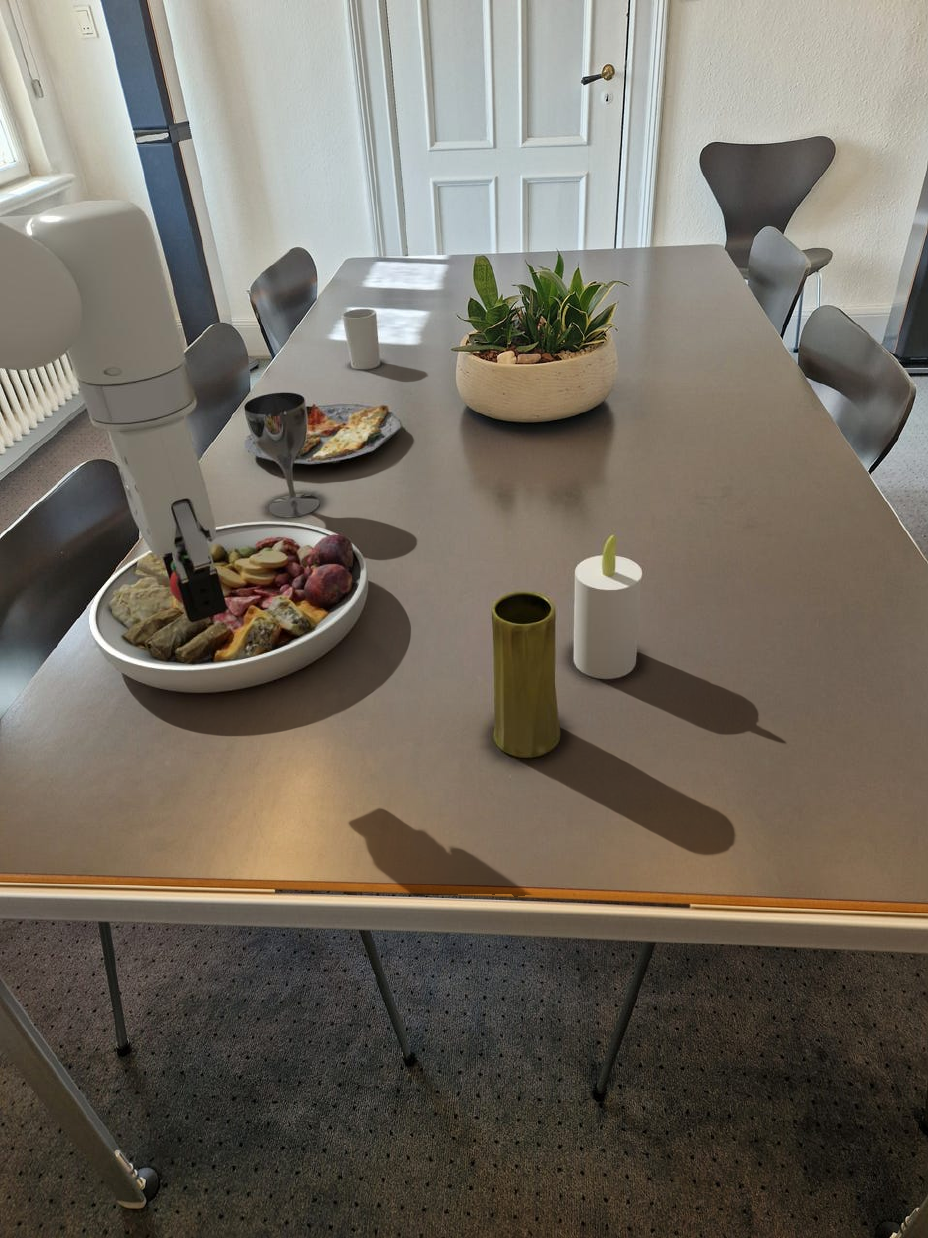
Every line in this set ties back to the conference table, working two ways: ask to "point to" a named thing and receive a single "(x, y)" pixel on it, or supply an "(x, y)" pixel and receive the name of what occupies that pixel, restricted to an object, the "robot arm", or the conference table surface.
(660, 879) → the conference table surface
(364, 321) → the white cup
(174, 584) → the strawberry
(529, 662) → the vase
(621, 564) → the candle
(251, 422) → the wine glass
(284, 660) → the bowl
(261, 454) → the food plate
